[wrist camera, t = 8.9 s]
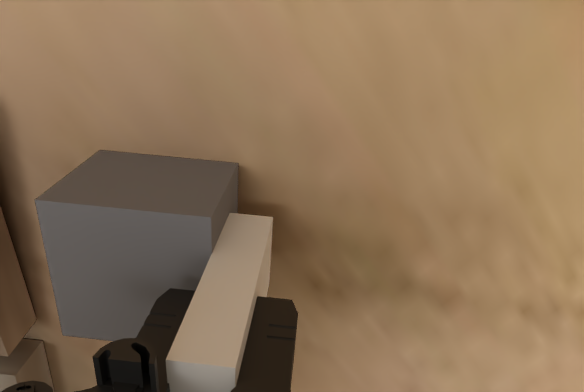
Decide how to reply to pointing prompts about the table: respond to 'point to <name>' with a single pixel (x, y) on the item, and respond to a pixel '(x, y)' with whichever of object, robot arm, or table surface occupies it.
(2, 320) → the board
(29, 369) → the laid floor rows
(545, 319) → the table surface
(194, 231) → the block
